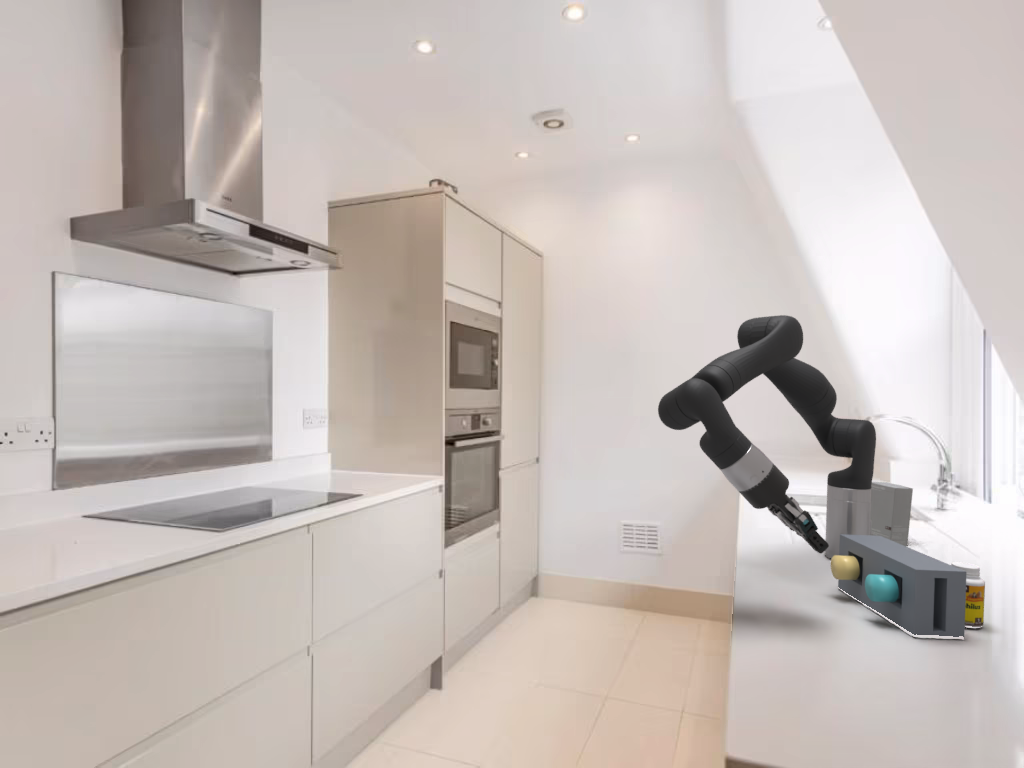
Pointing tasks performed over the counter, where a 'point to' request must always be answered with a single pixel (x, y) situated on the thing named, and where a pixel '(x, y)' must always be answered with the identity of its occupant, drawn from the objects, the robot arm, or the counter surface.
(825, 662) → the counter surface
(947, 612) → the console
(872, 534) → the skincare box
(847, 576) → the mustard button
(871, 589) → the teal button
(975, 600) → the supplement bottle
